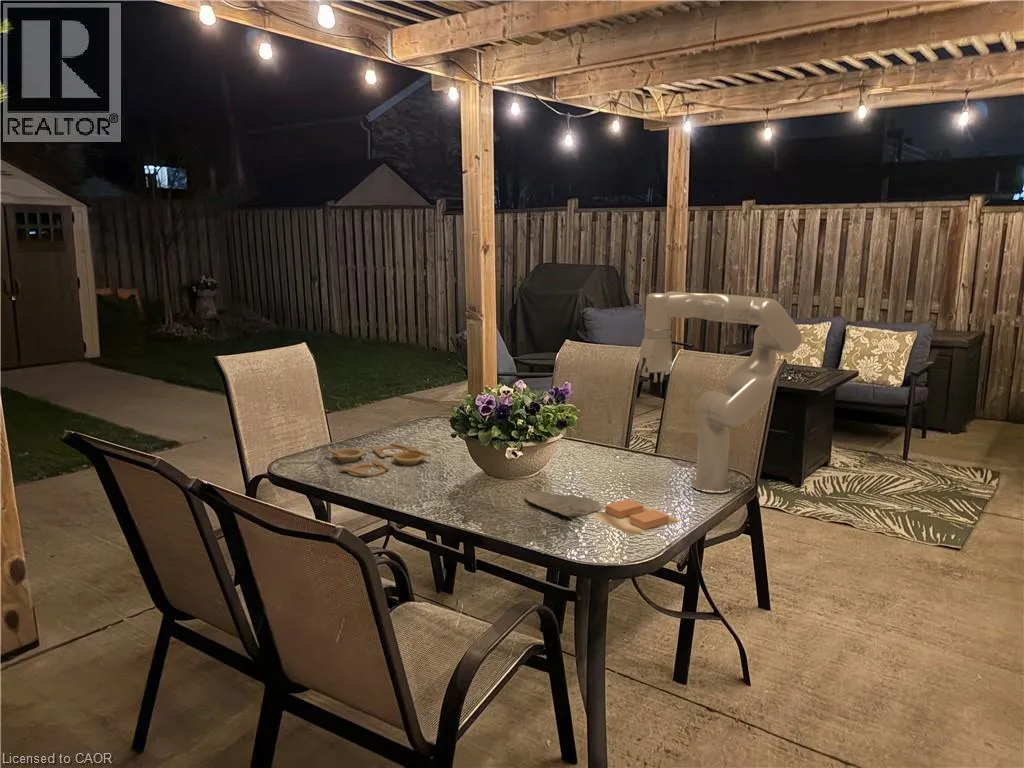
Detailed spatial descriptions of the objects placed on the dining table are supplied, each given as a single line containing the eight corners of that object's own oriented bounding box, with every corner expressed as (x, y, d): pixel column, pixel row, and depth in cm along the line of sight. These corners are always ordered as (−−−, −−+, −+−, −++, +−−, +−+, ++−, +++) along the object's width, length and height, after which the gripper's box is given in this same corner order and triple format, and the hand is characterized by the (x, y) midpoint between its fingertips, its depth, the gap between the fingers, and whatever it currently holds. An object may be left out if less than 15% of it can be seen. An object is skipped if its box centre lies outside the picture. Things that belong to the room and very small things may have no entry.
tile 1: (628, 499, 210) (605, 505, 205) (642, 505, 205) (619, 511, 200) (628, 506, 211) (605, 512, 206) (642, 512, 206) (619, 519, 201)
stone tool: (612, 509, 215) (541, 491, 229) (613, 498, 214) (542, 480, 228) (581, 527, 199) (507, 505, 212) (582, 515, 198) (508, 494, 212)
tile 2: (653, 509, 202) (629, 515, 197) (668, 515, 197) (645, 522, 192) (652, 517, 203) (629, 523, 198) (668, 523, 198) (644, 530, 193)
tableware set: (353, 482, 236) (353, 470, 236) (316, 461, 259) (316, 451, 258) (442, 463, 258) (442, 452, 257) (401, 445, 280) (401, 435, 280)
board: (638, 506, 214) (638, 503, 214) (681, 524, 200) (681, 520, 200) (589, 519, 203) (589, 515, 203) (631, 538, 190) (631, 535, 189)
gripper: (665, 332, 222) (663, 390, 226) (630, 334, 214) (628, 395, 217) (684, 334, 216) (681, 393, 219) (648, 337, 208) (645, 399, 211)
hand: (654, 394), depth 218 cm, fingers closed
